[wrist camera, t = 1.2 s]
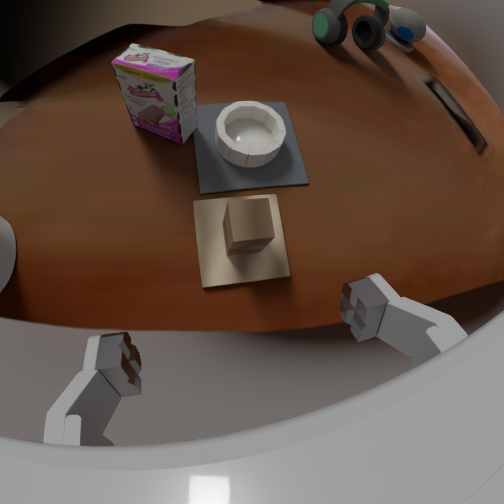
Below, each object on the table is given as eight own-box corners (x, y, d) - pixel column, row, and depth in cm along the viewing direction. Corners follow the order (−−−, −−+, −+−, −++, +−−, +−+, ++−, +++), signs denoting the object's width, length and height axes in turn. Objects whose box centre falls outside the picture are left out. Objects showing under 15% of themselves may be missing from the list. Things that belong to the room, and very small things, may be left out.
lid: (202, 287, 41) (202, 280, 31) (193, 203, 44) (191, 174, 34) (287, 276, 44) (312, 266, 34) (274, 197, 46) (292, 168, 36)
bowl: (219, 171, 45) (221, 157, 40) (211, 118, 47) (213, 102, 42) (284, 165, 47) (292, 152, 43) (271, 115, 49) (277, 100, 45)
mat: (200, 194, 44) (200, 193, 43) (190, 107, 47) (190, 105, 46) (307, 184, 47) (308, 183, 47) (284, 103, 50) (284, 102, 50)
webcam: (411, 44, 69) (431, 19, 55) (411, 58, 66) (434, 30, 51) (381, 24, 68) (399, -2, 54) (378, 36, 65) (398, 6, 51)
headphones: (322, 51, 57) (351, -6, 38) (305, 28, 59) (328, -26, 39) (377, 58, 61) (410, 12, 42) (359, 35, 63) (386, -9, 43)
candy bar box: (131, 126, 44) (109, 62, 28) (147, 107, 45) (132, 41, 29) (183, 148, 45) (174, 80, 29) (198, 127, 46) (196, 57, 30)
